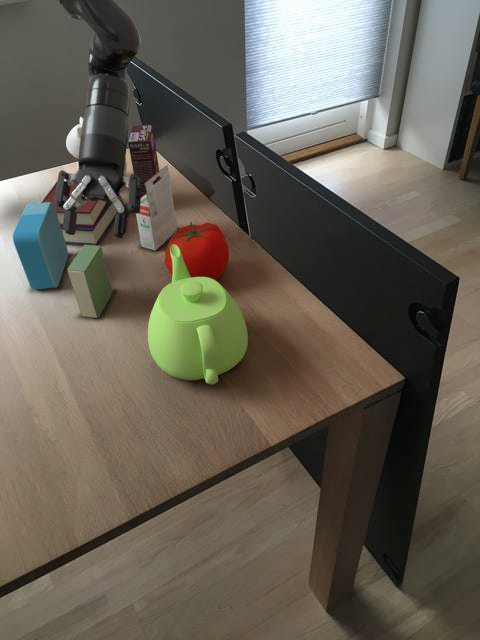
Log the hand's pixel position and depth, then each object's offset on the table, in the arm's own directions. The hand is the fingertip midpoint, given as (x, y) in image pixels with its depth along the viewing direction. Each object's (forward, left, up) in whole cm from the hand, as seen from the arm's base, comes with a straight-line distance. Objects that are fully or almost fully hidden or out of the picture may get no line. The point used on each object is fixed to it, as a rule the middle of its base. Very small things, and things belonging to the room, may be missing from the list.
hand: (93, 235), depth 90 cm
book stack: (-13, +20, -11) cm, 27 cm away
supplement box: (-1, +30, -11) cm, 33 cm away
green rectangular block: (0, -5, -11) cm, 12 cm away
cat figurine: (-15, +37, -11) cm, 42 cm away
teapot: (+20, -13, -11) cm, 26 cm away
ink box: (+5, +16, -11) cm, 21 cm away
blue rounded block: (-12, +3, -11) cm, 17 cm away
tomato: (+16, +5, -11) cm, 20 cm away
